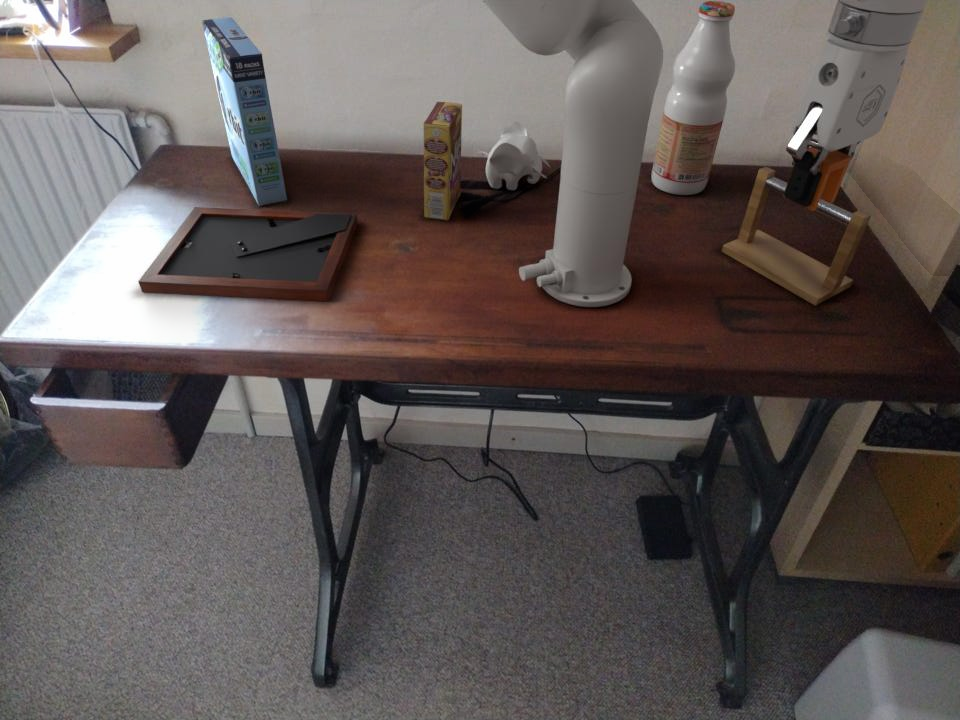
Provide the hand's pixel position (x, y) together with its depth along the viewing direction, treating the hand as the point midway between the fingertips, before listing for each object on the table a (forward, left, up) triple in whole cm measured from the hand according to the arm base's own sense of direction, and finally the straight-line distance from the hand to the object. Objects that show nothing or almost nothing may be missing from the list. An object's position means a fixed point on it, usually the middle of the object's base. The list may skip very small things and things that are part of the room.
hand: (810, 194), depth 78 cm
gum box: (-53, +64, -17) cm, 85 cm away
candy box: (-28, +43, -17) cm, 54 cm away
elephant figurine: (-14, +46, -17) cm, 51 cm away
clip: (0, 0, -1) cm, 1 cm away
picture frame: (-58, +40, -17) cm, 73 cm away
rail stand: (+10, +7, -17) cm, 21 cm away
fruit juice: (+12, +35, -17) cm, 41 cm away
